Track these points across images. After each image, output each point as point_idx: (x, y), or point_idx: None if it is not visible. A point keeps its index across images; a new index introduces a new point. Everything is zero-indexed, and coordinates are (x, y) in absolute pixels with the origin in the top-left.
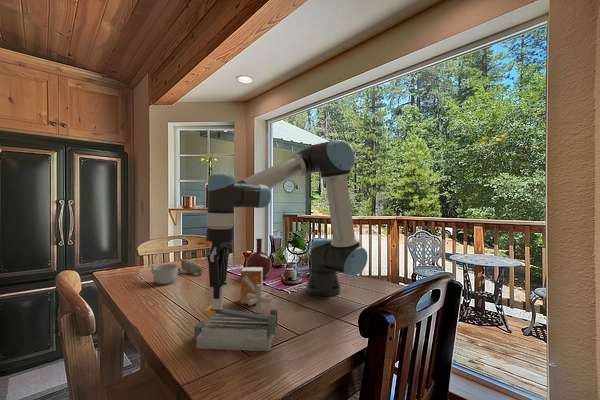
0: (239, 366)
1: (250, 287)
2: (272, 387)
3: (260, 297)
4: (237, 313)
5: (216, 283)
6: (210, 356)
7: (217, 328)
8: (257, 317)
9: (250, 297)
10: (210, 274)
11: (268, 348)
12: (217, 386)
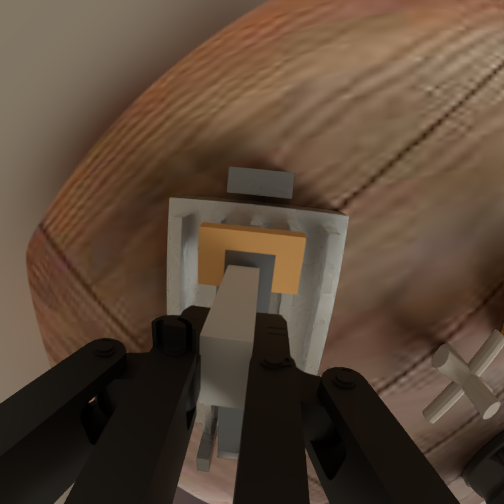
0: (107, 335)
1: None
2: None
3: (457, 391)
4: None
5: (86, 406)
6: (138, 255)
7: (176, 284)
8: (219, 427)
9: (484, 347)
10: (3, 417)
11: None
12: (46, 296)
